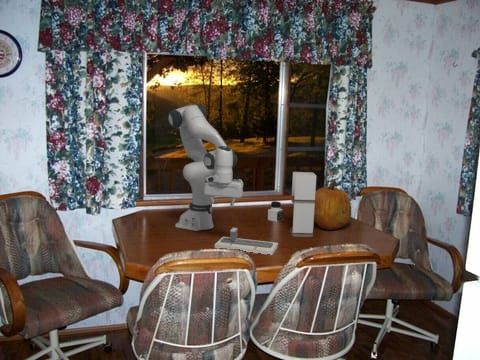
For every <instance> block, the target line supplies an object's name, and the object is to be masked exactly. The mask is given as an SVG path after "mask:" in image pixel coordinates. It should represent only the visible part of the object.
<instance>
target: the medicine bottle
mask: <svg viewBox="0 0 480 360" xmlns="http://www.w3.org/2000/svg"><path fill="white" fill-rule="evenodd" d="M270 203H271V204H270V209H269V208H268V210H267V221H271V222H275V223H278V222H281V221H283V219H284V209H282V208H281V207H282V202H280V201H278V200H273V201H271V202H270Z"/></svg>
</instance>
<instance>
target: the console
mask: <svg viewBox="0 0 480 360" xmlns="http://www.w3.org/2000/svg"><path fill="white" fill-rule="evenodd" d="M237 239H238V242H236V241H229V240H230V236H222V237H221V238H220V239H219V240H218V241H217V242H215V244H214V249H219V250H220V248H227V249H240V250H243V251H246V252H245V253H250V252H253V253H252V254H258V253H261V254H260V255H267V254H270V255H269V256H273V255H274V253H275V251H277V249H278V247H279V246H278V245H279V242H275V241H263V240H256V239H255V240H254V239H246V238H240V237H239V238H238V237H237Z"/></svg>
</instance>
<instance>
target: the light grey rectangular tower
mask: <svg viewBox="0 0 480 360" xmlns="http://www.w3.org/2000/svg"><path fill="white" fill-rule="evenodd" d="M316 188H317V175H316V174H315V173H314V172H312V171H311V172H310V171H309V172H308V171H307V172H304V171H303V172H302V171H292V185H291V198H290V199H291V203H292V204H293V214H292V215H293V216H292V218H293V219H292V227H289V232H290V234H291V237H303V238H305V237H307V238H309V237H312V238H313V237H314V223H315V221H314V206H315V192H316V191H317V190H316Z"/></svg>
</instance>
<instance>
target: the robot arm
mask: <svg viewBox="0 0 480 360" xmlns="http://www.w3.org/2000/svg"><path fill="white" fill-rule="evenodd" d="M206 118H207V111H206V108H205V106H204V105H203V104H201V103H200V104H199V103H198V104H197V103H196V104H191V105H185V106H182V107H178V108H175V109H172V110H170V111H169V113H168V122H169V123H170V125H171V127H173V128H175V129H177V128H178V129H179V133H180V139H181V142H182V145H183V148H184V150H185V153H186V156H187V157H188V158H190V159H191V160H193V162H190V163H188V164H185V166H184V167H183V169H182V175H183V178H184V179H185V180H186V181H187V182H188V183H189V185H190V187H191V194H192V196H191V197H192V202H190V203H189V204H188V206H187V207H188V209H187V210H186V211H184V212H183V213H182V214H181V215H180V217H179V220H178V222H175V224H174V225H175V226H174V227H175V228H178V229H183V230H184V229H185V230H189V231H194V232H195V231H203V230H204V231H206V230H210V229H213V228H214V223H213V222H214V221H213V217H212V216H213V215H212V213H213V205H217V200H216V199H215V197H223V198H232V201H230V203H229V206H231V207H234V206H235V201H236V200H237V199H241V198H243V196H244V182H243V180H242V179H236V178H233V173H234V172H233V169H234V168H235V167H236V165H237V163H238V156H237V154H236V153H235V151H234V150H233V149H232V148H231V147H230V146H229V145H228V143H227V142H226V140H225V139H224V137H223V136H222V135H221V133H220V132H219V131H218V130H217V129H216V128H214V127H213V126H212V125H211V124H210V122H208V120H207V119H206ZM203 141H207V142H210V143H212V144H213V145H214V146H215V148H216V149H214V150H211V151H207V150H206V148H205V146H204V145H205V144H204V143H203Z"/></svg>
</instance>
